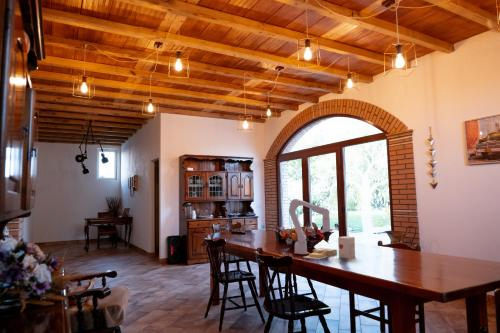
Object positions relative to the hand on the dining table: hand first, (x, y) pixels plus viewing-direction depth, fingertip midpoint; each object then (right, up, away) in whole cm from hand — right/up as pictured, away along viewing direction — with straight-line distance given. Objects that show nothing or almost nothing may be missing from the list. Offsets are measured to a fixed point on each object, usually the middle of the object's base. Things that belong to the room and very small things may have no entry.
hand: (326, 241), depth 283 cm
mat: (-12, -9, -14) cm, 20 cm away
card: (-11, -7, -13) cm, 19 cm away
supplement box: (+11, -9, -18) cm, 23 cm away
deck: (-3, -10, -5) cm, 11 cm away
